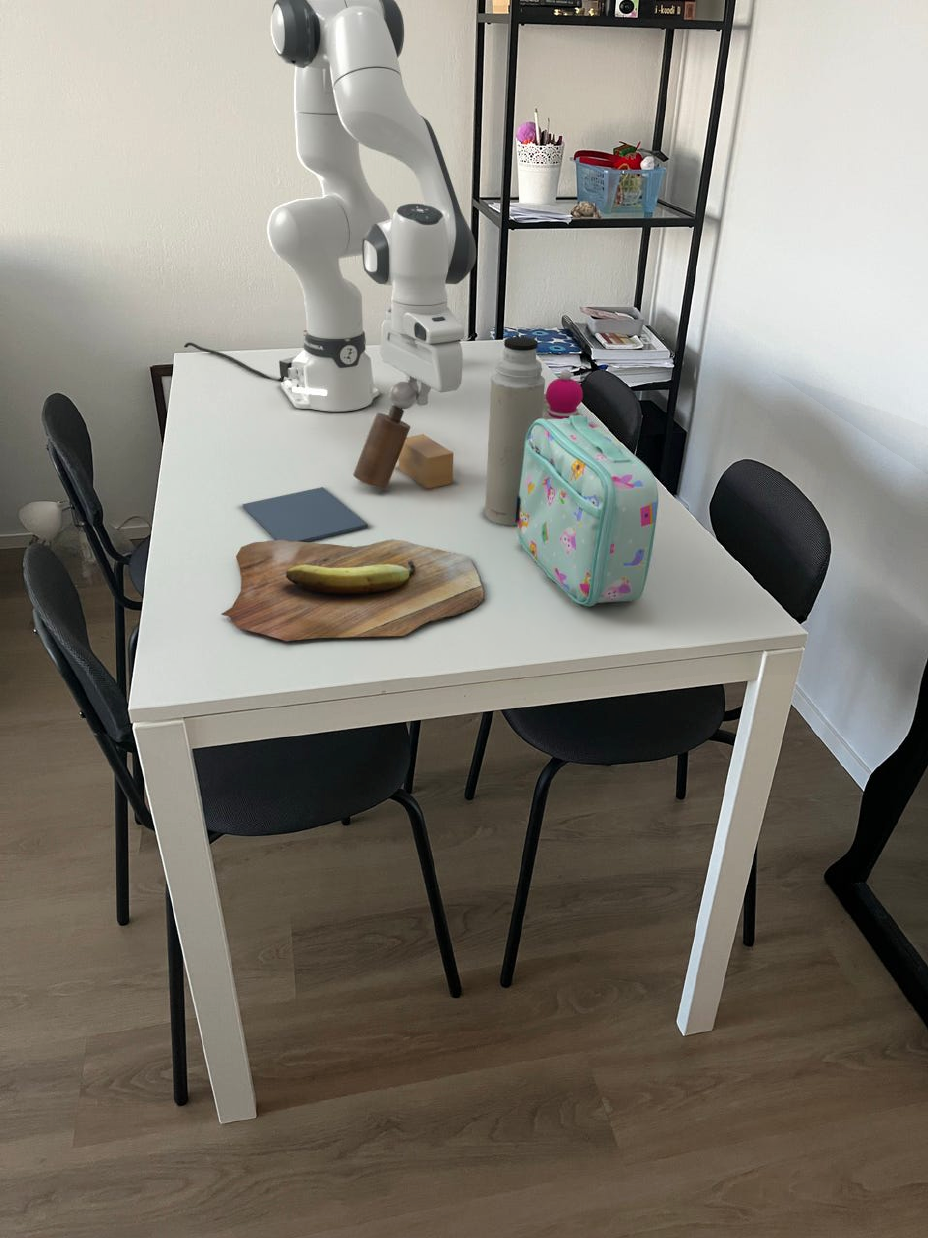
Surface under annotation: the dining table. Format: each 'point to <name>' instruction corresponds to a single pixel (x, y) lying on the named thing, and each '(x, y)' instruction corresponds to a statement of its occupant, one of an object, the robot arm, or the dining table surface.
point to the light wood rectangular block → (426, 461)
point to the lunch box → (586, 510)
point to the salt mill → (385, 439)
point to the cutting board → (349, 588)
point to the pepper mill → (563, 397)
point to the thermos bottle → (511, 424)
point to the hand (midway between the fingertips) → (418, 402)
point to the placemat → (304, 516)
